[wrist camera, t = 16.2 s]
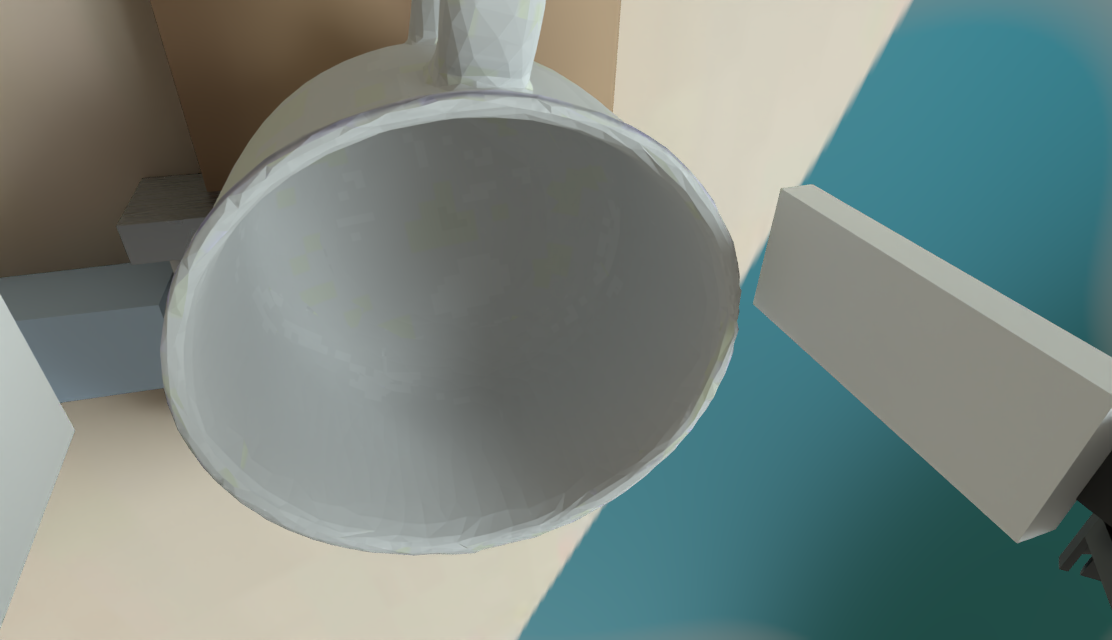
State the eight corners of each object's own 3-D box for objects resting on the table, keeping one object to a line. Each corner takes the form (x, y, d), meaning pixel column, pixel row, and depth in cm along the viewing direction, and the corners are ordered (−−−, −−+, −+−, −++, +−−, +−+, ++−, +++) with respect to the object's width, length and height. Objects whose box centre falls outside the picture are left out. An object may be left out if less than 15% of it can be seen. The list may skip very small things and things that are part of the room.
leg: (238, 219, 18) (225, 262, 16) (274, 349, 21) (267, 401, 18) (-296, 265, 15) (-396, 325, 13) (-177, 410, 18) (-245, 478, 16)
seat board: (262, 343, 20) (260, 369, 19) (147, -55, 14) (135, -51, 13) (583, 293, 23) (597, 313, 22) (604, -53, 17) (624, -49, 16)
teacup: (548, 370, 23) (641, 552, 17) (208, 359, 19) (161, 602, 12) (689, -63, 16) (928, -30, 10) (215, -239, 12) (122, -374, 6)
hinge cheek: (154, 213, 17) (131, 265, 15) (142, 178, 17) (116, 226, 14) (250, 204, 18) (242, 252, 16) (241, 170, 17) (231, 214, 15)
